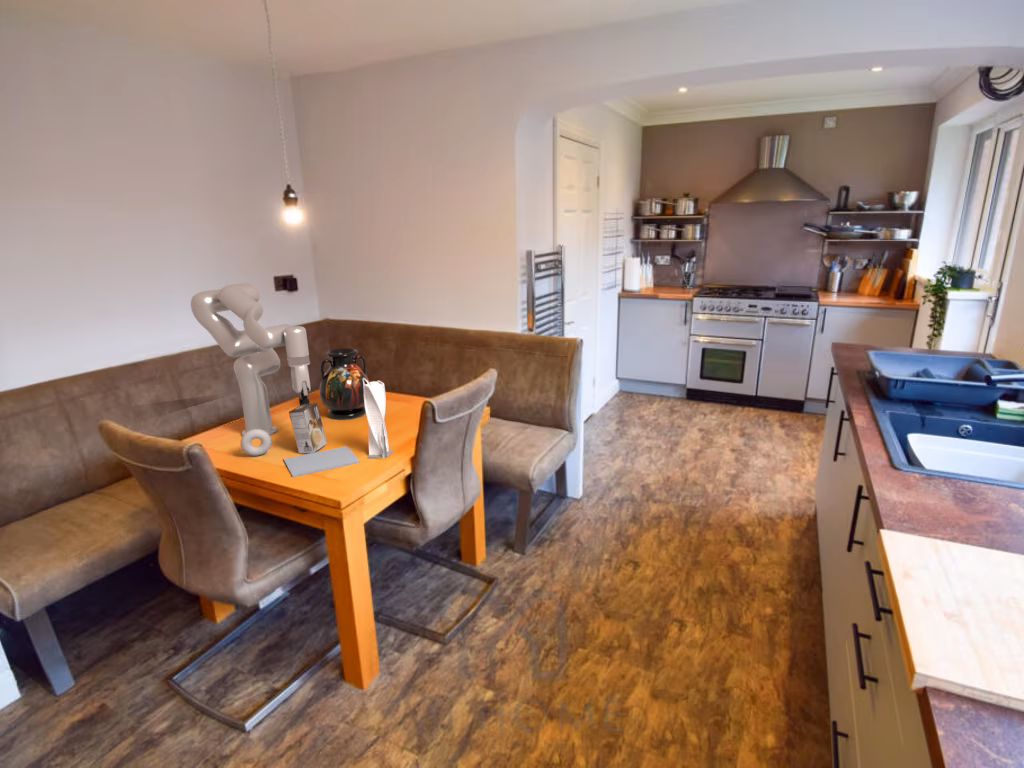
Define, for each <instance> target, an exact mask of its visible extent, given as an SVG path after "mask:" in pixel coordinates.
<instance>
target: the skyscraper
mask: <svg viewBox="0 0 1024 768" xmlns="http://www.w3.org/2000/svg"><path fill="white" fill-rule="evenodd" d="M362 380H363V387H364V404H365V410H366V413H365V415H366V419H367V421H368V431H367V432H368V455H367V456H366V458H367V459H373V458H387V457H388V456H389V455H390V454H391V455H392V454H393V452H394V450H392V449H389V447H390V445H389V440H388V438H389V437H388V432H387V428H386V422H385V415H386V407H387V404H386V403H387V401H386V400H387V399H386V397H387V396H386V388H385V387H386V385H385V383H384V382H383V381H381V380H378V379H377V381H369V382H370V383H369V382H368V381H367V380H366V379H365V378H363V379H362ZM364 380H366V382H367V383H368V384H364ZM391 455H390V456H391ZM390 456H389V457H390ZM389 457H388V458H389ZM388 458H387V459H388Z"/></svg>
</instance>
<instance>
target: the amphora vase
mask: <svg viewBox="0 0 1024 768" xmlns="http://www.w3.org/2000/svg"><path fill="white" fill-rule="evenodd" d="M358 353H359V351H358V350H357V349H354V348H350V347H349V348H347V347H346V348H345V347H344V348H335V349H330V350H328V351H327V352H326V355H325V356H327V357H329V358H331V359H329V358H325V359H322V360H321V363H320V365H319V369H320V371H319V372H320V381H321V382H320V384H319V391H318V393H319V394H318V395H319V398H320V401H321V403H322V404H323V406H325V407H326V408H327V410H328V411H327V415H328V416H329V417H330V418H331V419H335V420H336V419H337V420H350V419H355V418H360V417H362V416H364V415H366V410H365V404H364V387H363V380H362V379H363V378H365V379H366V380H367V381H368V382H369V383H370V382H371V381H370V380H369V378H368V374H367V364H366V359H365V357H364V356H363V355H361V354H358ZM357 354H358V355H357ZM358 359H360V360H361V362H362V368H361V367H359V366H358V365H357V360H358ZM325 363H329V365H330V366H329V368H328V369H327V371H326V372H325V371H324V369H325V368H324V367H325ZM366 380H364V384H368V383H367V382H366Z"/></svg>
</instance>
